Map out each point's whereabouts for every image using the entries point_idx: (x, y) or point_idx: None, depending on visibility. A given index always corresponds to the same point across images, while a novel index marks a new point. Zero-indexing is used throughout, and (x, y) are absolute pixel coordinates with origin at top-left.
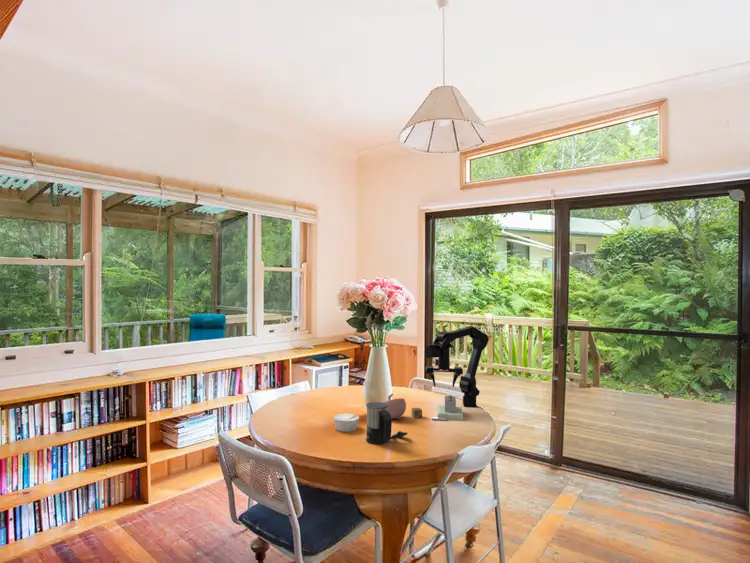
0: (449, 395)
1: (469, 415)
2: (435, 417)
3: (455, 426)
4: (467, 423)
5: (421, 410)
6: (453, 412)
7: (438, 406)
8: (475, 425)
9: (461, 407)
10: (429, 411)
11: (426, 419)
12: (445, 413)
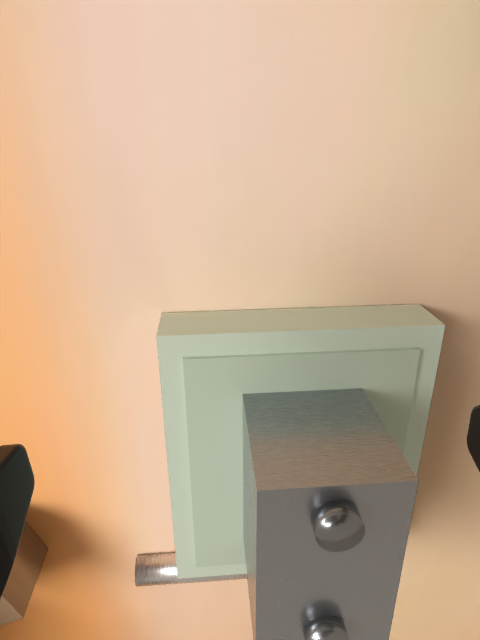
0: (332, 516)
1: (470, 394)
2: (163, 584)
3: None
4: (403, 571)
5: (18, 616)
6: None
7: (167, 363)
8: (450, 592)
9: (438, 342)
10: (75, 358)
11: (91, 566)
12: None
